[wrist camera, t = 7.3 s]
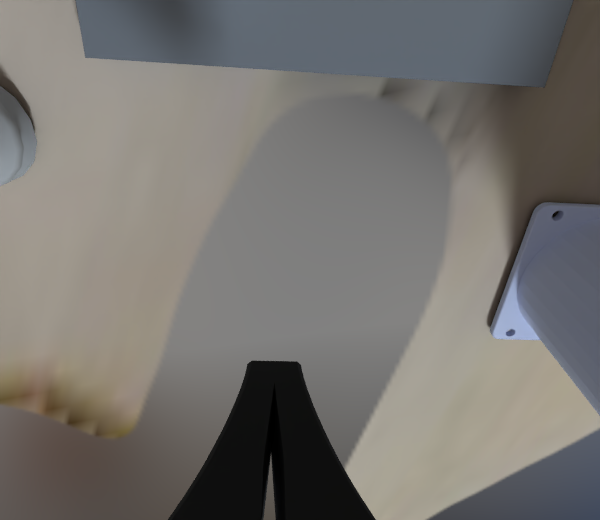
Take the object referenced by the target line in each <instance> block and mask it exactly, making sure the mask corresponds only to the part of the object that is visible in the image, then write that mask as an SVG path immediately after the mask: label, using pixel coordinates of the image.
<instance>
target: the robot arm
mask: <svg viewBox="0 0 600 520" xmlns="http://www.w3.org/2000/svg"><path fill="white" fill-rule="evenodd" d="M556 211H559V213H558V214H557V215H556V216H555V217H552V215H553V214H554V213H555V212H556ZM509 329H511V330H510V331H508V330H509ZM507 331H508V332H507ZM490 332H491V334H492V336H493V337H494V338H496V339H518V340H541V341H542V342H543V344H544V345H545V346H546V348H547V349H548V350H549V351H550V353H551V354H552V355H553V356H554V358H555V359H556V360H557V362H558V363H559V364H560V365H561V367H562V368H563V369H564V371H565V372H566V373H567V374H568V376H569V377H570V378H571V379H572V381H573V382H574V383H575V385H576V386H577V387H578V388H579V390H580V391H581V392H582V394H583V395H584V396H585V397H586V399H587V400H588V401H589V402H590V404H591V405H592V406H593V408H594V409H595V410H596V411H597V413H598V414H599V415H600V205H595V204H574V203H552V202H546V203H542V204H540V205H538V206H537V207H536V208H535V210H534V211H533V214H532V216H531V219H530V222H529V225H528V227H527V230H526V233H525V235H524V238H523V241H522V243H521V246H520V249H519V252H518V254H517V257H516V260H515V262H514V265H513V268H512V271H511V273H510V276H509V279H508V281H507V284H506V287H505V289H504V292H503V295H502V298H501V300H500V303H499V306H498V308H497V311H496V314H495V316H494V319H493V322H492V325H491V327H490ZM271 455H272V471H273V484H274V485H273V486H274V501H275V514H276V520H376V519H375V518H374V516H373V515H372V513H371V512H370V510H369V509H368V507H367V506H366V504H365V503H364V501H363V500H362V498H361V497H360V495H359V493H358V492H357V490H356V488H355V487H354V485H353V483H352V482H351V480H350V478H349V477H348V475H347V473H346V472H345V470H344V468H343V466H342V464H341V463H340V461H339V459H338V457H337V455H336V454H335V451H334V449H333V447H332V445H331V444H330V442H329V439H328V437H327V435H326V433H325V431H324V429H323V426H322V424H321V422H320V420H319V418H318V416H317V413H316V411H315V408H314V406H313V403H312V401H311V398H310V395H309V393H308V390H307V387H306V384H305V381H304V378H303V373H302V369H301V365H300V364H299V363H298V362H288V361H251V362H249V363H248V364H247V369H246V374H245V377H244V380H243V383H242V386H241V389H240V391H239V394H238V397H237V399H236V402H235V404H234V406H233V408H232V411H231V413H230V415H229V417H228V419H227V421H226V424H225V426H224V428H223V430H222V432H221V434H220V436H219V437H218V439H217V441H216V443H215V445H214V447H213V449H212V451H211V452H210V454H209V456H208V458H207V460H206V461H205V463H204V465H203V467H202V468H201V470H200V472H199V473H198V475H197V477H196V478H195V480H194V481H193V483H192V485H191V486H190V488H189V489H188V491H187V493H186V494H185V496H184V497H183V499H182V500H181V501H180V503H179V504H178V506H177V507H176V509H175V510H174V512H173V513H172V515H171V516H170V517H169V519H168V520H263V518H264V509H265V500H266V492H267V483H268V474H269V465H270V456H271Z"/></svg>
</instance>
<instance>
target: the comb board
mask: <svg viewBox="0 0 600 520" xmlns="http://www.w3.org/2000/svg"><path fill="white" fill-rule="evenodd" d="M572 3H573V0H76V5H77V11H78V17H79V23H80V29H81V34H82V40H83V46H84V52H85V58H100V59H115V60H131V61H146V62H161V63H177V64H192V65H207V66H222V67H238V68H253V69H268V70H284V71H299V72H314V73H330V74H345V75H360V76H376V77H391V78H406V79H422V80H437V81H452V82H467V83H483V84H498V85H513V86H529V87H545V84H546V81H547V78H548V75H549V72H550V69H551V66H552V63H553V60H554V57H555V54H556V51H557V48H558V45H559V42H560V39H561V36H562V33H563V30H564V27H565V24H566V21H567V18H568V15H569V12H570V9H571V6H572Z"/></svg>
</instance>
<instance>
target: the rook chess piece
mask: <svg viewBox="0 0 600 520" xmlns="http://www.w3.org/2000/svg"><path fill="white" fill-rule="evenodd" d="M36 145H37V140H36V137H35V133H34V130H33V126H32V123H31V120H30V118H29V117H28V115H27V114H26V112H25V111H24V109H23V108H22V107H21V105H20V104H19V102H18V101H17V99H16V98H15V97H14V96H12V95H11V94H10V93H9V92H7V91H6V90H5V89H4V88H2V87H1V86H0V186H1V185H4V184H6V183H8V182H11V181H12V180H14V179H16V178H19V177H21V176H23V175H24V174H25V173H26V171H27V170H28V169H29V167H30V166H31V165H32V164H33V162H34V160H35V153H36Z"/></svg>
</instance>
